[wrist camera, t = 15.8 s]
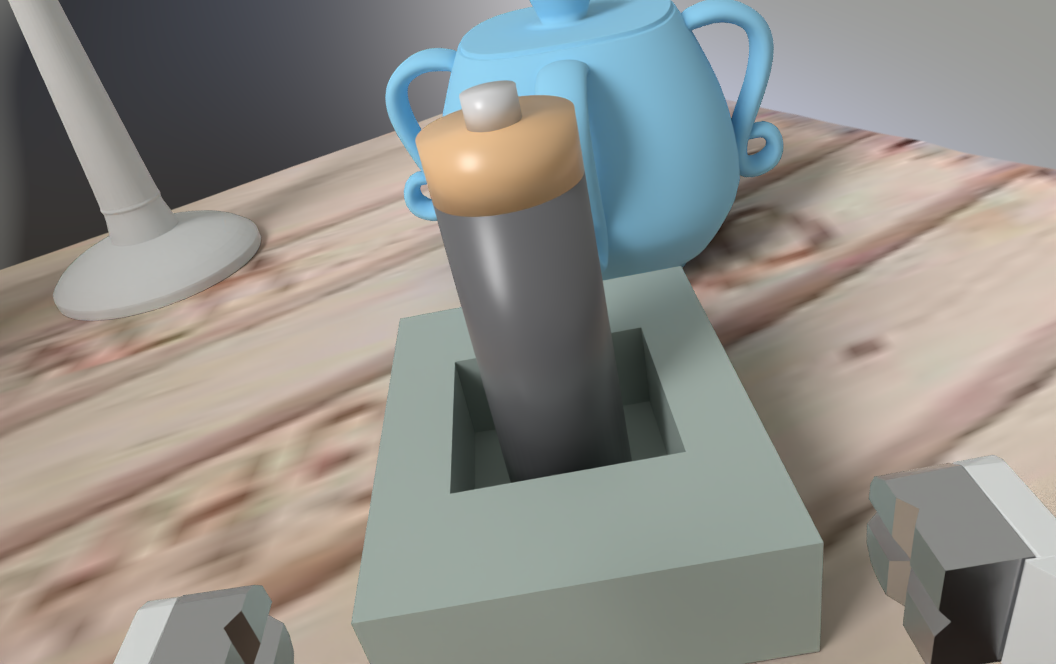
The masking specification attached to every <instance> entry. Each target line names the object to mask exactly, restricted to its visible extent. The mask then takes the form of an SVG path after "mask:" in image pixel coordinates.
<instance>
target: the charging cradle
mask: <svg viewBox="0 0 1056 664" xmlns="http://www.w3.org/2000/svg"><path fill="white" fill-rule="evenodd" d="M603 286H604V292H605V298H606V304H607V310H608V316H609V322H610V329H611V335H612V341H613V347H614V353H615V359H616V365H617V372H618V378H619V384H620V390H621V396H622V402H623V408H624V414H625V421H626V427H627V433H628V439H629V445H630V451H631V457H632V462H626V463H620V464H615V465H609V466H604V467H598V468H592V469H587V470H581V471H575V472H570V473H564V474H559V475H553V476H547V477H542V478H536V479H531V480H525V481H519V482H514V483H511V482H510V479H509V475H508V472H507V468H506V464H505V461H504V457H503V454H502V450H501V446H500V443H499V439H498V436H497V432H496V429H495V425H494V421H493V418H492V414H491V411H490V407H489V403H488V400H487V396H486V393H485V389H484V386H483V382H482V378H481V375H480V371H479V368H478V364H477V361H476V357H475V353H474V350H473V346H472V343H471V339H470V335H469V332H468V328H467V325H466V321H465V318H464V314H463V310H462V307H460V308H455V309H449V310H444V311H439V312H433V313H428V314H423V315H417V316H412V317H407V318H402V319H400V322H399V329H398V335H397V341H396V347H395V354H394V360H393V366H392V372H391V379H390V385H389V391H388V397H387V404H386V410H385V416H384V422H383V429H382V435H381V441H380V447H379V454H378V460H377V466H376V472H375V478H374V485H373V491H372V497H371V503H370V510H369V516H368V522H367V528H366V535H365V541H364V547H363V553H362V560H361V566H360V572H359V578H358V585H357V591H356V597H355V603H354V610H353V616H352V622H351V624H352V626H353V628H354V631H355V633H356V635H357V637H358V639H359V641H360V643H361V645H362V648H363V650H364V652H365V654H366V656H367V658H368V660H369V663H370V664H746V663H752V662H758V661H764V660H770V659H776V658H783V657H789V656H795V655H801V654H807V653H813V652H819V651H820V630H821V601H822V572H823V541H822V539H821V537H820V535H819V533H818V531H817V529H816V527H815V525H814V523H813V521H812V519H811V517H810V515H809V513H808V511H807V509H806V508H805V506H804V504H803V502H802V500H801V498H800V496H799V494H798V492H797V490H796V488H795V486H794V484H793V482H792V480H791V478H790V476H789V475H788V473H787V471H786V469H785V467H784V465H783V463H782V461H781V459H780V457H779V455H778V453H777V451H776V449H775V447H774V445H773V443H772V442H771V440H770V438H769V436H768V434H767V432H766V430H765V428H764V426H763V424H762V422H761V420H760V418H759V416H758V414H757V412H756V410H755V409H754V407H753V405H752V403H751V401H750V399H749V397H748V395H747V393H746V391H745V389H744V387H743V385H742V383H741V381H740V379H739V377H738V376H737V374H736V372H735V370H734V368H733V366H732V364H731V362H730V360H729V358H728V356H727V354H726V352H725V350H724V348H723V346H722V344H721V343H720V341H719V339H718V337H717V335H716V333H715V331H714V329H713V327H712V325H711V323H710V321H709V319H708V317H707V315H706V313H705V311H704V309H703V308H702V306H701V304H700V302H699V300H698V298H697V296H696V294H695V292H694V290H693V288H692V286H691V284H690V282H689V280H688V278H687V276H686V275H685V273H684V271H683V269H682V267H681V266H678V267H672V268H667V269H662V270H656V271H651V272H646V273H640V274H635V275H630V276H625V277H619V278H614V279H609V280H603Z"/></svg>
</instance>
